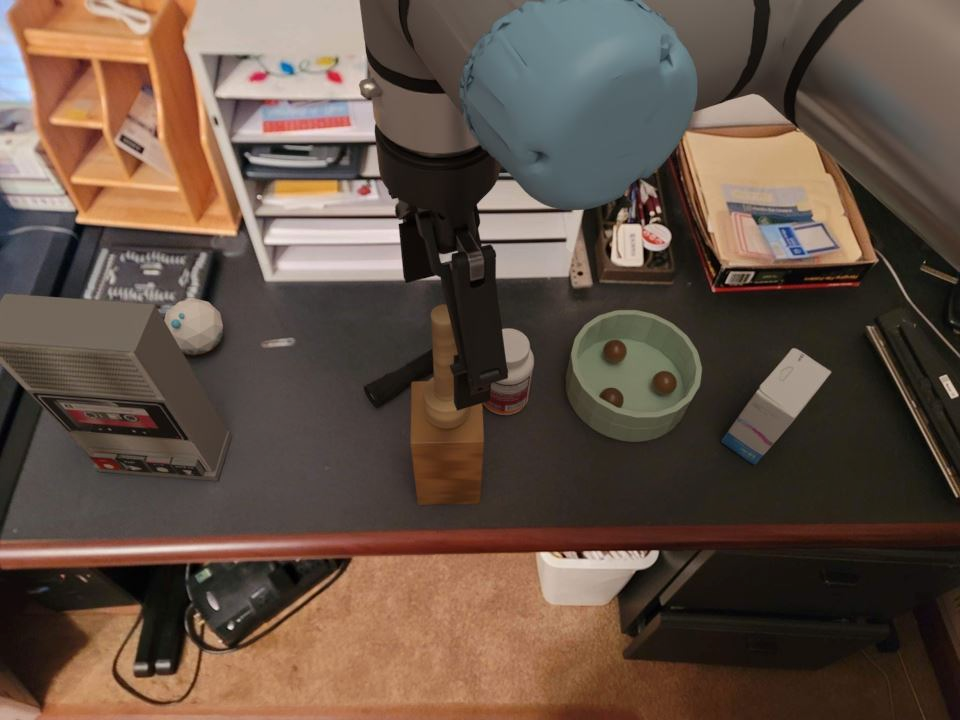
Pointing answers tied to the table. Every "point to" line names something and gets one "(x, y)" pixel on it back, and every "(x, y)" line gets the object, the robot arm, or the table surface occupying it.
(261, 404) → the table surface
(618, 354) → the hazelnut
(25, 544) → the table surface
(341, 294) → the table surface
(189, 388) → the cassette tape recorder
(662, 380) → the hazelnut
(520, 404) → the pill bottle
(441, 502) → the block
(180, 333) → the ornament
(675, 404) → the bowl
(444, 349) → the pestle
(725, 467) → the table surface
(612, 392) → the hazelnut
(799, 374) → the ink box
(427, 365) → the flashlight
